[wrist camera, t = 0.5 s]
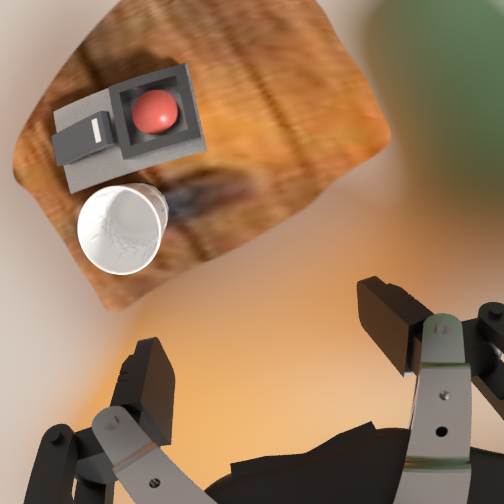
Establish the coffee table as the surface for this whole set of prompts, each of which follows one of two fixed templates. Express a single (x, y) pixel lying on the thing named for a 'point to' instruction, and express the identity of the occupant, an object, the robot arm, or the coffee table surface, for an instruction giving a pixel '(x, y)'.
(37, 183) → the coffee table surface
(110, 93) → the grey switch box
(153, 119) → the button
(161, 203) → the white cup
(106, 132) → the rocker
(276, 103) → the coffee table surface
